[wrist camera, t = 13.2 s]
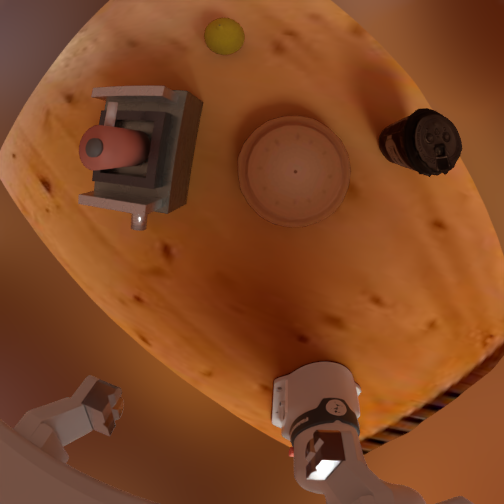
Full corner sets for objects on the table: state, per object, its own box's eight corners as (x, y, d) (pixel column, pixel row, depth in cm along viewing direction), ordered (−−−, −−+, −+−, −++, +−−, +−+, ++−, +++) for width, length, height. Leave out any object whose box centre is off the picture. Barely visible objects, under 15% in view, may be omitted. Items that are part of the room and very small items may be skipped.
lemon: (231, 67, 36) (222, 48, 28) (204, 51, 35) (189, 31, 27) (254, 42, 34) (249, 20, 27) (226, 27, 33) (216, 4, 26)
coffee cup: (406, 182, 39) (450, 193, 27) (363, 155, 38) (397, 154, 26) (426, 136, 36) (473, 133, 24) (384, 108, 36) (423, 92, 23)
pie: (314, 102, 37) (319, 95, 32) (360, 194, 40) (371, 199, 36) (221, 149, 40) (214, 147, 35) (271, 238, 44) (270, 248, 39)
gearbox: (183, 228, 44) (149, 255, 32) (118, 216, 44) (72, 236, 32) (203, 102, 38) (174, 81, 26) (133, 99, 38) (88, 84, 26)
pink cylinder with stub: (148, 167, 34) (108, 172, 25) (117, 164, 34) (73, 169, 25) (157, 111, 31) (119, 98, 22) (125, 110, 31) (83, 100, 22)
